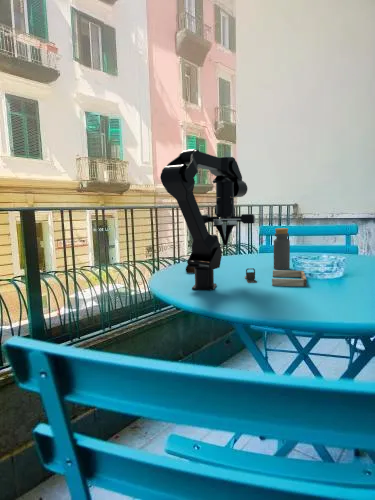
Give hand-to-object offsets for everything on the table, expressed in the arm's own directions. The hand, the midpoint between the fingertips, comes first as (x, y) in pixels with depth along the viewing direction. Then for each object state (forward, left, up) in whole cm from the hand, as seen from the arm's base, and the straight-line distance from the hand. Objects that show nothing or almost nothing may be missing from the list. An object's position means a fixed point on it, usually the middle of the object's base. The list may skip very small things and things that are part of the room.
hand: (225, 245), depth 119 cm
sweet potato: (+18, +12, -12) cm, 25 cm away
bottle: (+21, -18, -12) cm, 30 cm away
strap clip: (0, -8, -12) cm, 14 cm away
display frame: (0, -20, -11) cm, 23 cm away
